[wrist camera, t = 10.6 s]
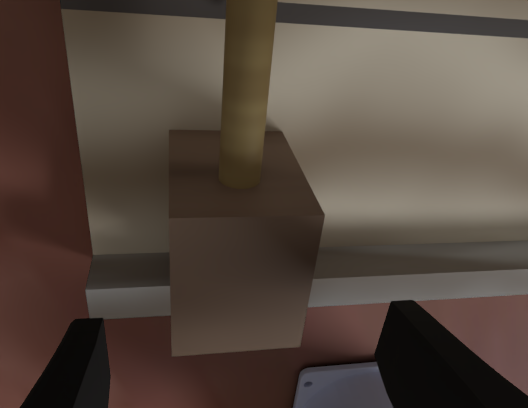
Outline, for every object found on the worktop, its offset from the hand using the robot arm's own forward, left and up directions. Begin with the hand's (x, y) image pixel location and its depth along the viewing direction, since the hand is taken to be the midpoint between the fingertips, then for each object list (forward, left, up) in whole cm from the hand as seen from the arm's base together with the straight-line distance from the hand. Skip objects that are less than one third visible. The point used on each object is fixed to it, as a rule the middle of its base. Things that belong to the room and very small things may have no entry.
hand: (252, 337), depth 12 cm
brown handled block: (+3, 0, -7) cm, 8 cm away
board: (+2, -9, -9) cm, 13 cm away
